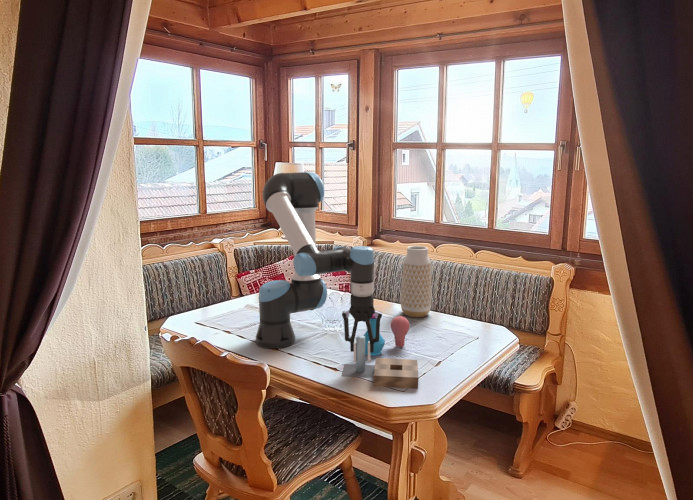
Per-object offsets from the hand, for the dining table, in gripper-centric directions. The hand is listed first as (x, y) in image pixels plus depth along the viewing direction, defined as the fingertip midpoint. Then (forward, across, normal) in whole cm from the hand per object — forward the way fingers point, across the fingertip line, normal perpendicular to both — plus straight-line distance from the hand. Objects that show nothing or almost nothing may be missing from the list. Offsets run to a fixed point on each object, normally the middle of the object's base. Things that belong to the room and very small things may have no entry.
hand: (362, 360), depth 178 cm
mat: (+4, -1, 0) cm, 4 cm away
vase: (+5, +20, +64) cm, 67 cm away
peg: (+4, -1, 0) cm, 4 cm away
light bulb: (+5, +12, +24) cm, 27 cm away
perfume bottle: (+4, +2, +17) cm, 18 cm away
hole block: (+4, +11, -4) cm, 13 cm away
